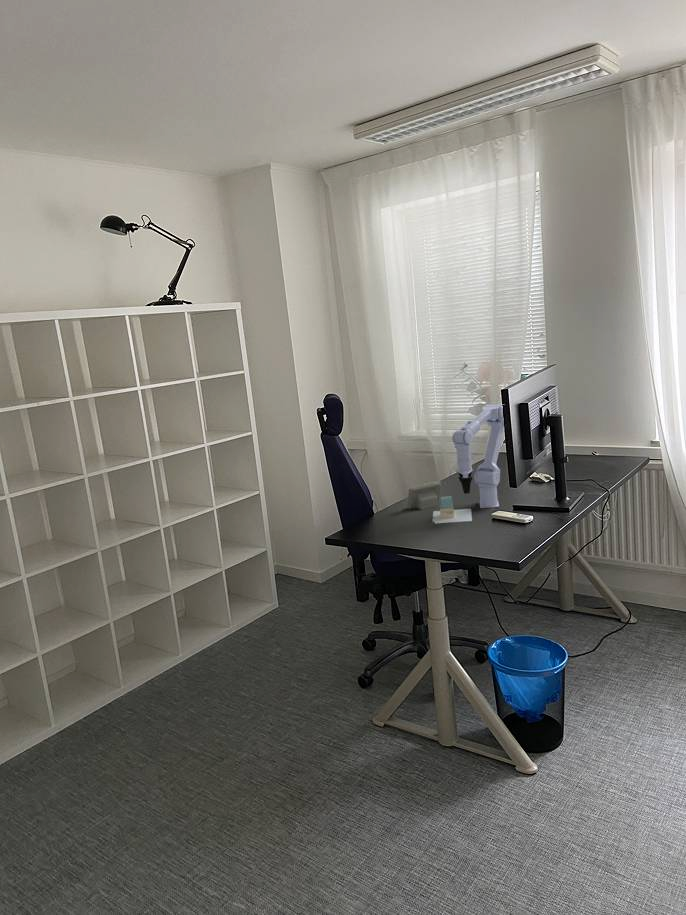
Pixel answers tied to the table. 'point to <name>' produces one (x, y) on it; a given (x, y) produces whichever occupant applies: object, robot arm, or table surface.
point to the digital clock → (424, 496)
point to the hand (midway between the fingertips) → (466, 491)
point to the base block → (446, 513)
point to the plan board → (459, 516)
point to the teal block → (446, 502)
